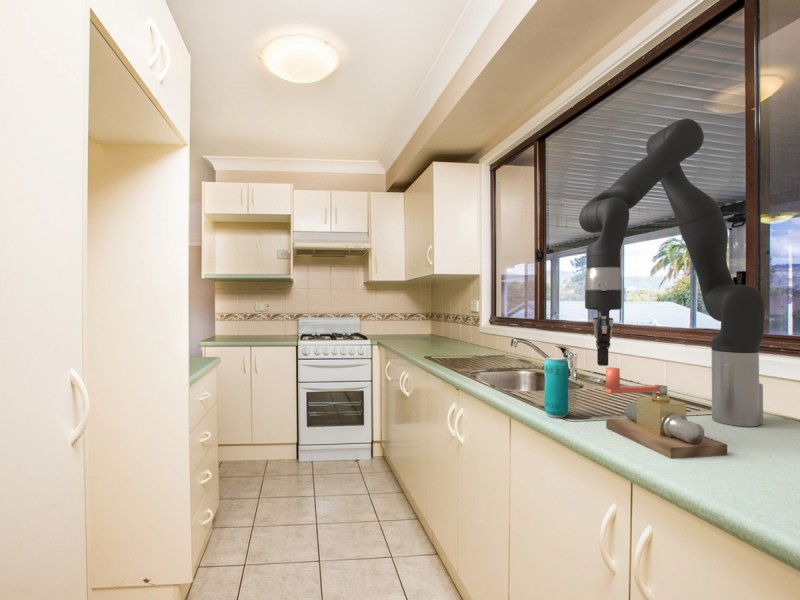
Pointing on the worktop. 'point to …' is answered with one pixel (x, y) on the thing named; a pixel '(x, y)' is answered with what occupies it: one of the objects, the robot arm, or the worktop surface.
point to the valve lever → (615, 387)
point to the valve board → (665, 428)
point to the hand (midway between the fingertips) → (602, 365)
